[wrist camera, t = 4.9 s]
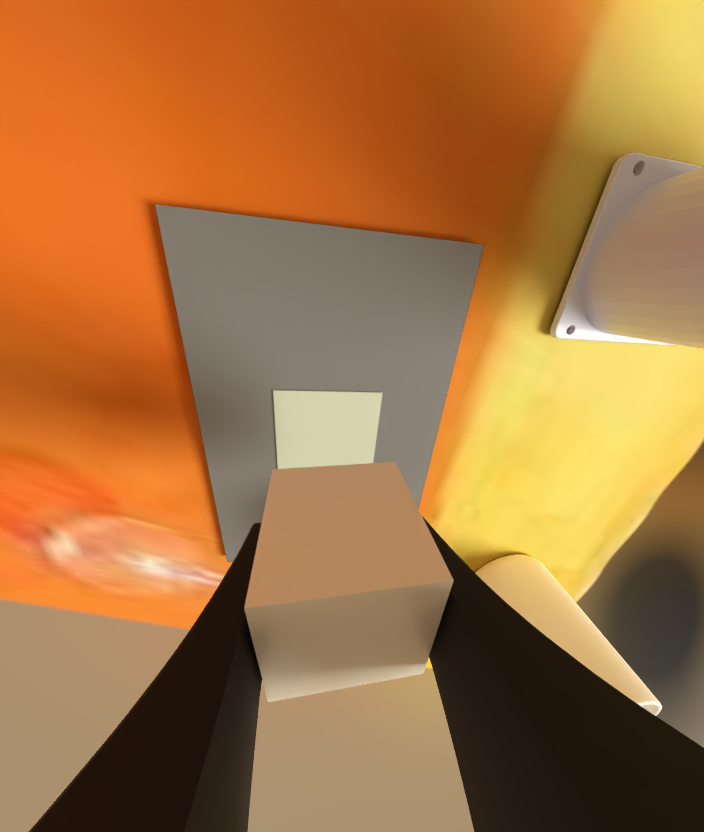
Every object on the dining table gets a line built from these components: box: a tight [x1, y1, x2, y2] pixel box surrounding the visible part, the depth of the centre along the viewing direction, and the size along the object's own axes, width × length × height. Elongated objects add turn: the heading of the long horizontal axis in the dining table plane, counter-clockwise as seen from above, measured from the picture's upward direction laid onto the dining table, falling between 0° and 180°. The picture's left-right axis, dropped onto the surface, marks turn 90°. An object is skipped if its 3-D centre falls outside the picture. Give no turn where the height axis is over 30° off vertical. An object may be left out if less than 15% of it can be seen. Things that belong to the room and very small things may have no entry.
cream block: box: [244, 462, 454, 702], centre depth 9 cm, size 4×4×4 cm
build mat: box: [155, 204, 484, 562], centre depth 16 cm, size 14×21×1 cm, turn 175°
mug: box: [475, 554, 662, 716], centre depth 21 cm, size 12×8×10 cm
